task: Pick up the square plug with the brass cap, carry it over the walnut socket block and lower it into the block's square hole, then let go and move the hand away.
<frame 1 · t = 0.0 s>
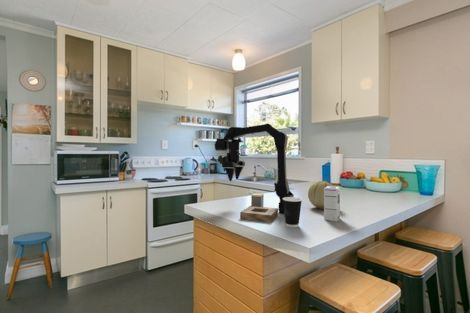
hand: (233, 180, 135), 15 cm above the worktop, tool pointing down, fingers open, 9 cm apart
syrup box: (331, 219, 113), on the worktop
cantaloupe: (322, 208, 135), on the worktop
socket block: (259, 216, 116), on the worktop
dixie cup: (291, 226, 103), on the worktop
plug: (257, 209, 130), on the worktop
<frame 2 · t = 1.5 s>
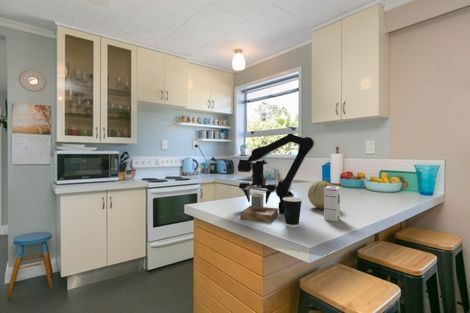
hand: (257, 202, 130), 4 cm above the worktop, tool pointing down, fingers open, 9 cm apart
nothing on the worktop moved.
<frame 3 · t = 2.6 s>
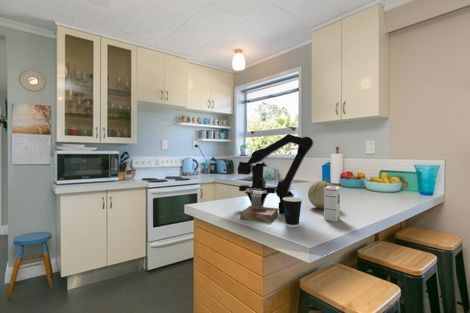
hand: (257, 205, 130), 2 cm above the worktop, tool pointing down, fingers closed on plug, 5 cm apart
plug: (257, 209, 130), on the worktop, touching gripper
everything else where it was.
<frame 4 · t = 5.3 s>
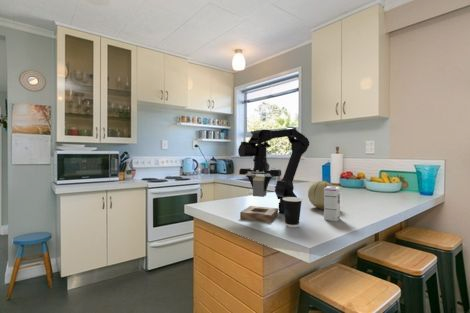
hand: (259, 190, 116), 12 cm above the worktop, tool pointing down, fingers closed on plug, 5 cm apart
plug: (259, 195, 116), point 10 cm above the worktop, touching gripper
everything else where it was.
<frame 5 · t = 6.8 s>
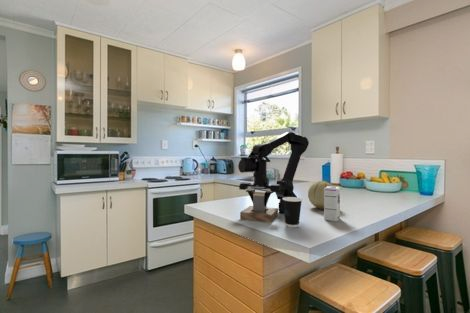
hand: (259, 205, 116), 5 cm above the worktop, tool pointing down, fingers closed on plug, 5 cm apart
plug: (259, 210, 116), point 3 cm above the worktop, touching gripper
everything else where it was.
when the fingers open (4 cm above the worktop, at t = 7.9 s): plug drops 2 cm, resting in socket block.
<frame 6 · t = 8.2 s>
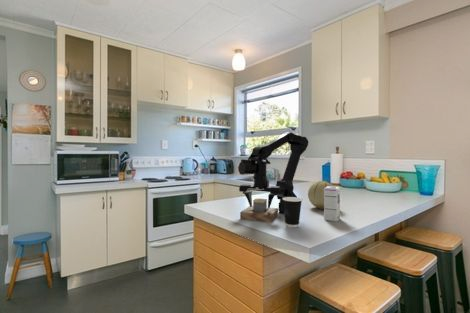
hand: (259, 207, 116), 4 cm above the worktop, tool pointing down, fingers open, 8 cm apart
plug: (259, 216, 116), resting in socket block
everything else where it was.
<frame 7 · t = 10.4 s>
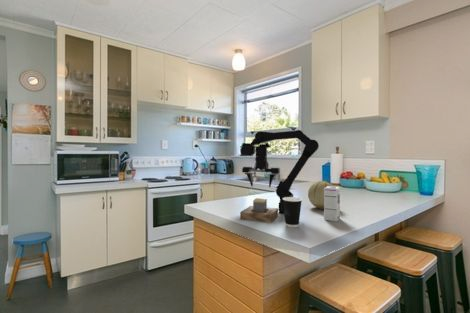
hand: (260, 186, 129), 12 cm above the worktop, tool pointing down, fingers open, 9 cm apart
nothing on the worktop moved.
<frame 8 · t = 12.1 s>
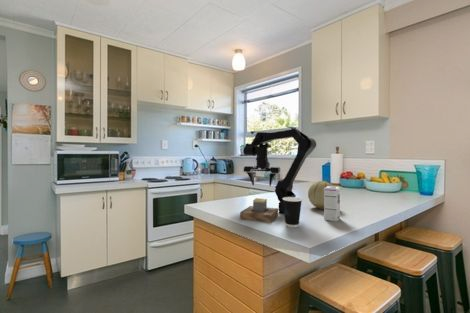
hand: (261, 185, 133), 12 cm above the worktop, tool pointing down, fingers open, 9 cm apart
nothing on the worktop moved.
at the end: plug 0.1 cm off-centre on the socket block, point 0.0 cm above the socket block's base; plug tilted 0°; the gripper is holding nothing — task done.
